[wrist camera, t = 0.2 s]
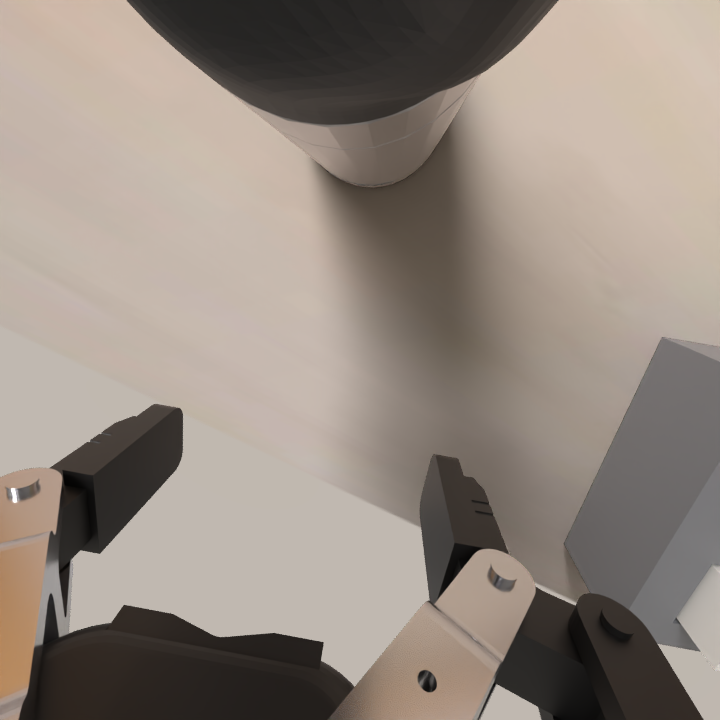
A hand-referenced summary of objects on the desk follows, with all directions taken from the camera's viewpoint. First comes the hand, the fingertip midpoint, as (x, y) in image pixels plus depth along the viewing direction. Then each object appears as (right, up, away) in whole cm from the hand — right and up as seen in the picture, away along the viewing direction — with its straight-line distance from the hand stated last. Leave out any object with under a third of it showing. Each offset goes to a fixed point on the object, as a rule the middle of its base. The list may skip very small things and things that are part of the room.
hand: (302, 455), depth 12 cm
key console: (+28, -6, +18) cm, 34 cm away
